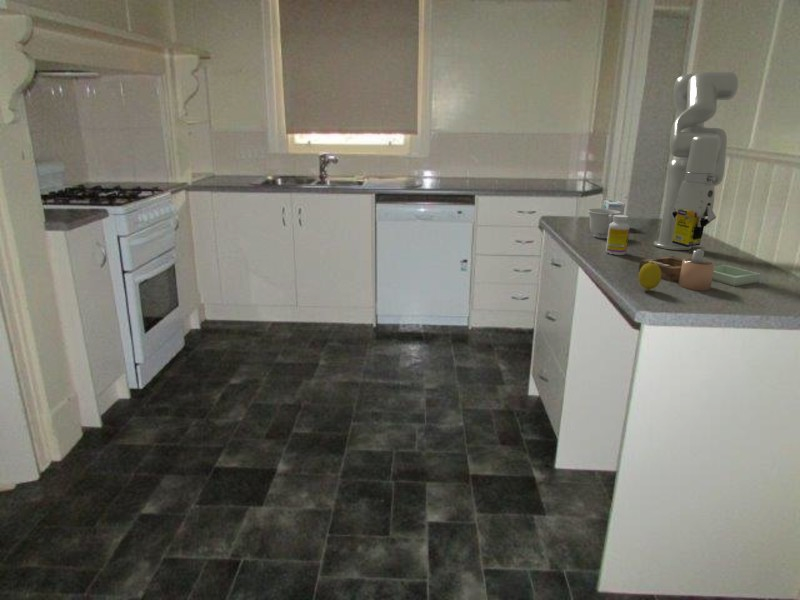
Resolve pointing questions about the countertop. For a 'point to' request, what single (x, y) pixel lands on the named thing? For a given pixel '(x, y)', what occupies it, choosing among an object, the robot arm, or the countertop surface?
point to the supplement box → (685, 229)
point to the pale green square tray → (734, 275)
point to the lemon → (649, 275)
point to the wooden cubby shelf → (666, 266)
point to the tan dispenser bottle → (696, 272)
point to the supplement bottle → (618, 235)
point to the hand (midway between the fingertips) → (687, 235)
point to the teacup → (601, 221)
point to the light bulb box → (614, 205)
